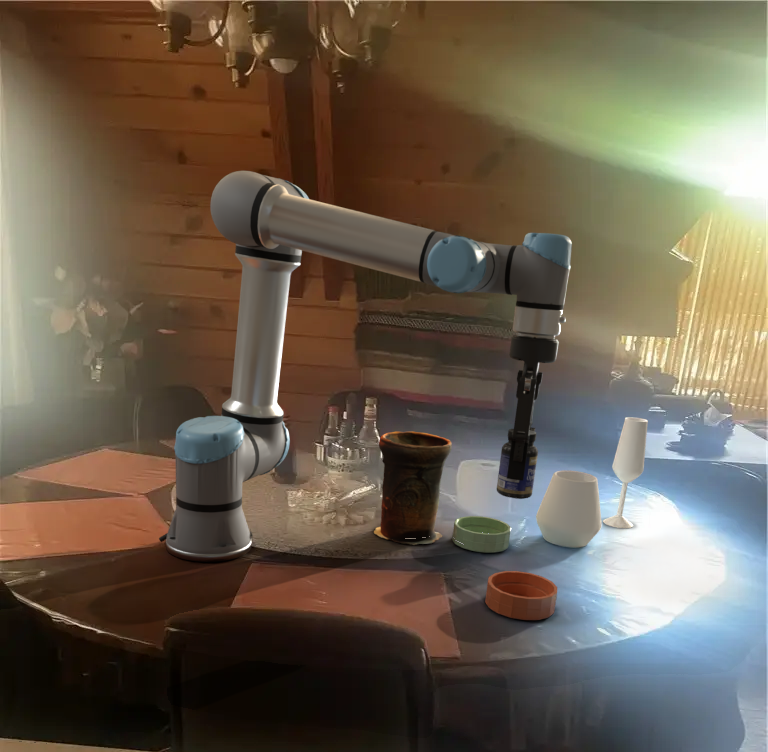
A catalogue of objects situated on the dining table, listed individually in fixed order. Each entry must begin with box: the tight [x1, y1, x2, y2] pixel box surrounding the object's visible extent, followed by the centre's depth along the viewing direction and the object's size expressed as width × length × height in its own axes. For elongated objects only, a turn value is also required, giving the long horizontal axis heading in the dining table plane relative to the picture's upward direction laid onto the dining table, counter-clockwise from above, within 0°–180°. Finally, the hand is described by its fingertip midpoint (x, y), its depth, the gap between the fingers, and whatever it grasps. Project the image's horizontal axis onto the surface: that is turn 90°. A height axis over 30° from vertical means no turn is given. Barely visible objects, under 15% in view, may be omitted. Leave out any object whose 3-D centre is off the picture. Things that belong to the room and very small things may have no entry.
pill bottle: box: [496, 428, 539, 500], centre depth 128 cm, size 6×6×11 cm
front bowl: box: [484, 570, 558, 621], centre depth 124 cm, size 11×11×4 cm
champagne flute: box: [602, 416, 649, 529], centre depth 169 cm, size 7×7×24 cm
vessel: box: [373, 431, 453, 546], centre depth 152 cm, size 14×14×20 cm
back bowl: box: [452, 515, 512, 553], centre depth 152 cm, size 11×11×4 cm
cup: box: [535, 469, 603, 548], centre depth 156 cm, size 13×13×14 cm
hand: (516, 473), depth 129 cm, fingers closed on pill bottle, 6 cm apart
